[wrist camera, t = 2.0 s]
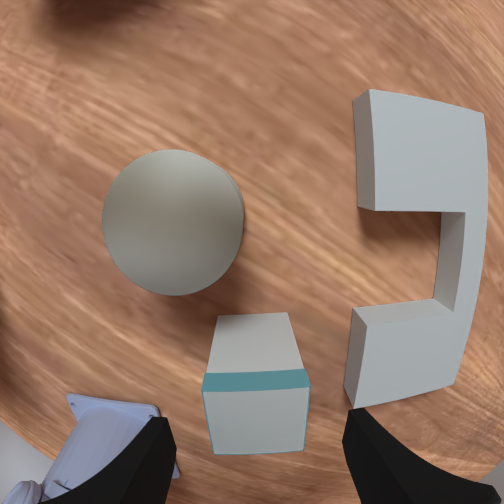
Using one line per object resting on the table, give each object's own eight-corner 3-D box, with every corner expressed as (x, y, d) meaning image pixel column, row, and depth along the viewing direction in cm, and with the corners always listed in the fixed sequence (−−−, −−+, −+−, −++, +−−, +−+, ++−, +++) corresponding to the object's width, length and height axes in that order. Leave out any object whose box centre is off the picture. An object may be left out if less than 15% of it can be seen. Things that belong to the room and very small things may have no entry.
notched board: (437, 367, 19) (453, 384, 16) (343, 385, 19) (353, 408, 16) (459, 118, 15) (483, 113, 12) (352, 100, 14) (369, 89, 12)
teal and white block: (287, 369, 18) (304, 450, 11) (222, 371, 18) (213, 454, 11) (288, 311, 17) (310, 385, 10) (216, 314, 17) (201, 390, 10)
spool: (246, 260, 16) (246, 293, 12) (147, 264, 16) (112, 296, 12) (242, 155, 15) (239, 143, 10) (139, 164, 15) (97, 159, 10)
